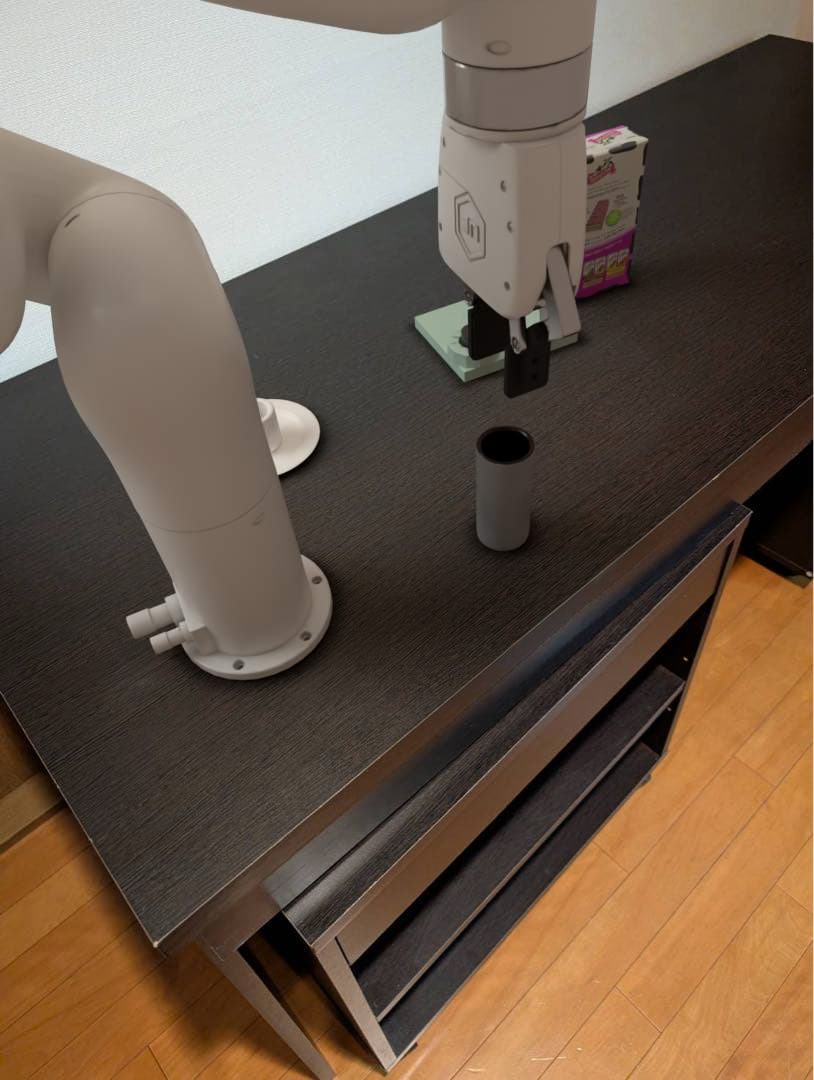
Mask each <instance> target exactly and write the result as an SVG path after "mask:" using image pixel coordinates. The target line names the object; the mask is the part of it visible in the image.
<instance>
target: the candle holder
mask: <svg viewBox="0 0 814 1080" xmlns="http://www.w3.org/2000/svg"><path fill="white" fill-rule="evenodd" d="M256 398H257V403H258V407H259V411H260V415H261V419H262V422H263V426H264V430H265V433H266V437H267V440H268V444H269V447H270V451H271V454H272V458H273V461H274V464H275V467H276V471H277V474H278V476H279V475H282V474H284V473H286V472H289V471H291V470H292V469H294V468H296V467H298V466H299V465H300V464H302V463H303V462H304V461H305V460H306V459H308V457H309V456H311V454H312V453H313V452H314V450H315V448H316V447H317V445H318V442H319V440H320V435H321V427H320V424H319V421H318V419H317V418H316V415H315V414H314V413H313V412H312V411H311V410H309V408H307V407H305V406H304V405H301V404H300V403H297V402H295V401H291V400H286V399H278V398H267V399H266V398H262V397H256Z"/></svg>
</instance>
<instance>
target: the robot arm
mask: <svg viewBox="0 0 814 1080" xmlns="http://www.w3.org/2000/svg"><path fill="white" fill-rule="evenodd" d="M200 1H202V2H204V3H208V4H209V3H210V4H213V5H218V6H222V7H227V8H231V9H234V10H240V11H245V12H250V13H255V14H259V15H264V16H269V17H275V18H280V19H287V20H294V21H299V22H304V23H309V24H315V25H320V26H326V27H330V28H331V27H332V28H337V29H342V30H349V31H353V32H361V33H368V34H377V35H404V34H411V33H415V32H420V31H423V30H425V29H428V28H430V27H433V26H436V25H437V24H439V23H440V29H441V30H440V32H441V47H442V48H441V49H442V50H441V52H442V53H441V56H442V57H441V59H442V83H443V85H442V86H443V110H442V111H443V112H442V119H441V126H440V127H441V128H440V134H439V135H440V136H439V148H438V149H439V151H438V169H437V170H438V171H437V172H438V174H437V217H438V218H437V229H438V233H437V234H438V250H439V254H440V256H441V258H442V260H443V261H444V263H445V264H446V265H447V266H448V267H449V269H450V270H451V271H452V272H453V273H454V274H456V276H458V278H460V279H461V281H463V283H464V284H463V299H464V300H465V302H466V304H467V305H468V306H469V307H471V306H473V308H471V309H468V355H469V356H470V358H471V359H472V360H474V361H476V360H477V361H478V360H481V359H483V358H486V357H489V356H492V355H495V354H497V353H500V352H503V351H505V354H504V368H503V395H504V396H506V398H507V399H509V400H510V399H515V398H517V397H520V396H522V395H525V394H528V393H530V392H533V391H536V390H539V389H541V388H543V387H545V386H546V385H548V382H549V376H550V375H549V374H550V365H551V364H550V362H551V352H552V351H551V342H552V341H555V340H561V339H564V338H567V337H569V336H572V335H575V334H578V335H579V333H581V331H582V323H581V320H580V315H579V311H578V307H577V306H578V305H577V302H576V301H575V298H574V297H575V296H576V293H577V291H578V288H579V283H580V279H581V273H582V266H583V258H584V246H585V233H586V207H587V156H586V138H585V136H586V125H585V124H584V123H583V121H584V119H585V118H586V115H587V107H588V98H589V88H590V79H591V78H590V77H591V69H592V57H593V45H594V42H593V40H594V33H595V26H596V24H595V23H596V14H597V3H598V0H200ZM223 287H224V286H223V284H222V282H221V280H220V277H219V274H218V272H217V271H216V268H215V267H214V265H213V262H212V259H211V257H210V254H209V252H208V249H207V247H206V245H205V242H204V240H203V238H202V236H201V233H200V231H199V229H198V228H197V226H196V225H195V223H194V222H193V220H192V219H191V218H190V216H189V215H188V213H187V212H186V211H185V210H184V209H183V208H182V207H181V205H179V204H178V203H177V202H175V201H174V200H173V198H170V197H169V196H168V195H166V194H165V193H164V192H162V191H160V190H159V189H157V188H155V187H154V186H151V185H150V184H147V183H146V182H143V181H141V180H139V179H137V178H135V177H132V176H130V175H127V174H125V173H122V172H119V171H117V170H114V169H112V168H109V167H106V166H104V165H101V164H100V163H99V164H98V163H96V162H94V161H91V160H88V159H85V158H84V157H80V156H78V155H75V154H73V153H70V152H67V151H65V150H61V149H58V148H56V147H54V146H51V145H49V144H45V143H43V142H41V141H38V140H36V139H32V138H31V137H27V136H25V135H22V134H20V133H17V132H14V131H12V130H9V129H6V128H3V127H2V126H0V356H1V355H2V354H3V353H4V352H5V351H6V350H7V349H8V348H9V347H10V346H11V344H12V343H13V342H14V340H15V338H16V337H17V335H18V333H19V331H20V329H21V327H22V323H23V320H24V317H25V316H24V315H25V311H26V302H28V301H29V302H33V303H36V304H40V305H44V306H48V307H50V314H51V316H50V317H51V327H52V335H53V341H54V347H55V349H54V350H55V353H56V354H55V355H56V359H57V362H58V367H59V371H60V374H61V377H62V381H63V383H64V386H65V389H66V392H67V393H68V397H69V398H70V400H71V402H72V404H73V406H74V408H75V410H76V412H77V413H78V415H79V417H80V419H81V420H82V421H83V423H84V425H85V426H86V428H87V429H88V430H89V432H90V433H91V434H92V436H93V437H94V439H95V440H96V442H97V443H98V444H99V446H100V448H101V449H102V451H103V452H104V454H105V455H106V456H107V458H108V460H109V462H110V463H111V465H112V467H113V469H114V471H115V473H116V475H117V476H118V478H119V480H120V482H121V484H122V486H123V487H124V490H125V492H126V493H127V496H128V497H129V499H130V502H131V503H132V505H133V508H134V509H135V511H136V512H137V514H138V516H139V518H140V519H141V521H142V523H143V525H144V527H145V529H146V530H147V533H148V535H149V537H150V539H151V541H152V543H153V545H154V547H155V548H156V550H157V552H158V553H157V554H159V557H160V558H161V561H162V563H163V565H164V566H165V569H166V570H167V572H168V574H169V577H170V578H171V580H172V586H173V589H174V591H175V593H173V594H171V595H168V596H166V597H164V601H165V602H164V603H163V602H162V603H160V604H158V605H156V606H153V607H150V608H149V607H147V608H144V609H142V610H139V611H136V612H134V613H132V614H129V615H127V616H126V617H125V619H126V624H127V626H128V629H129V630H130V633H131V635H132V637H133V639H134V640H138V639H141V638H142V637H145V636H147V635H150V634H153V633H154V632H157V631H159V629H162V628H163V627H166V626H169V625H171V624H174V625H175V628H173V629H171V630H168V631H163V632H161V633H158V634H156V635H153V636H151V637H149V641H150V644H151V647H152V649H153V651H154V653H155V654H156V655H159V654H162V653H164V652H166V651H169V650H171V649H173V647H176V646H178V645H181V646H182V648H183V650H184V652H185V653H186V654H187V657H189V659H190V660H191V661H192V662H193V663H194V664H195V665H197V667H199V668H200V669H201V670H203V671H205V672H207V673H209V674H211V675H212V676H215V677H220V678H223V679H226V680H237V681H249V680H259V679H262V678H266V677H270V676H274V675H276V674H279V673H281V672H283V671H285V670H288V669H290V668H291V667H293V666H295V665H296V664H298V663H300V662H301V661H302V660H304V659H305V658H306V657H307V656H308V655H309V654H310V653H311V652H312V651H314V649H315V648H316V647H317V645H318V644H319V643H320V642H321V640H322V639H323V637H324V636H325V634H326V632H327V630H328V628H329V626H330V622H331V619H332V615H333V603H334V601H333V596H332V591H331V588H330V585H329V584H330V583H329V581H328V579H327V577H326V575H325V574H324V572H323V570H322V569H321V568H320V567H319V566H318V565H317V564H316V563H315V562H314V561H312V560H311V559H310V558H308V557H307V556H305V555H304V554H301V551H300V548H299V545H298V541H297V538H296V535H295V531H294V527H293V524H292V523H293V522H292V520H291V517H290V513H289V510H288V506H287V502H286V498H285V496H284V495H285V494H284V492H283V489H282V485H281V482H280V478H279V475H278V474H277V471H276V467H275V464H274V461H273V458H272V454H271V451H270V447H269V444H268V440H267V437H266V433H265V430H264V426H263V422H262V419H261V415H260V411H259V407H258V403H257V398H258V397H257V394H256V389H255V384H254V379H253V375H252V370H251V364H250V360H249V357H248V354H247V349H246V347H245V343H244V340H243V336H242V333H241V330H240V328H239V325H238V321H237V319H236V316H235V314H234V312H233V309H232V307H231V306H232V305H230V301H229V299H228V297H227V294H226V291H225V290H224V288H223ZM538 309H539V311H540V322H537V323H534V324H533V325H531V326H530V327H528V328H526V315H530V313H531V312H532V311H535V310H538Z"/></svg>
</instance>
